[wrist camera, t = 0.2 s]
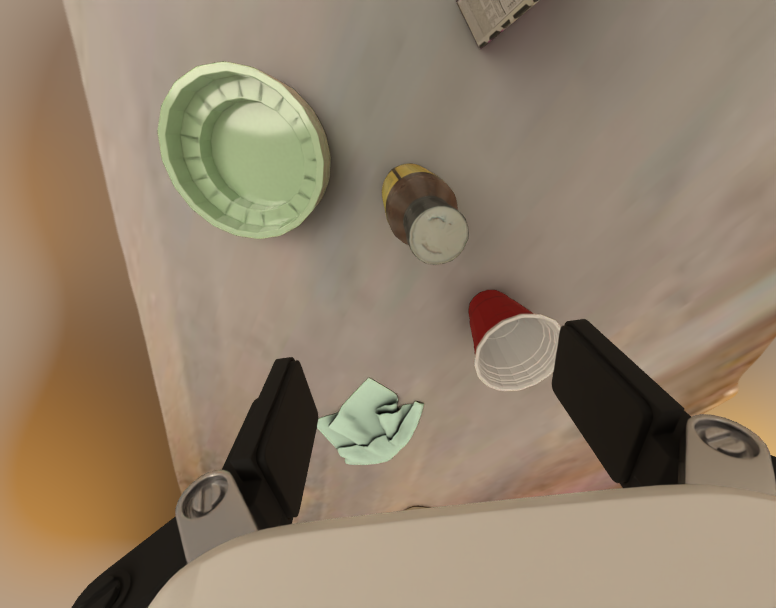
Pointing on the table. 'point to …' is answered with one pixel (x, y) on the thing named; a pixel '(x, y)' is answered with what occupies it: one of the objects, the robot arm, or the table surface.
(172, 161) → the bowl
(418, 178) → the sauce bottle
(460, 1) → the candy bar box
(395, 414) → the cloth
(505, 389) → the plastic cup
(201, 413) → the table surface
